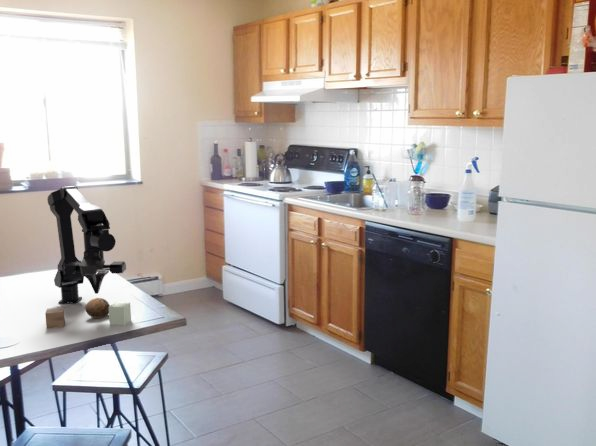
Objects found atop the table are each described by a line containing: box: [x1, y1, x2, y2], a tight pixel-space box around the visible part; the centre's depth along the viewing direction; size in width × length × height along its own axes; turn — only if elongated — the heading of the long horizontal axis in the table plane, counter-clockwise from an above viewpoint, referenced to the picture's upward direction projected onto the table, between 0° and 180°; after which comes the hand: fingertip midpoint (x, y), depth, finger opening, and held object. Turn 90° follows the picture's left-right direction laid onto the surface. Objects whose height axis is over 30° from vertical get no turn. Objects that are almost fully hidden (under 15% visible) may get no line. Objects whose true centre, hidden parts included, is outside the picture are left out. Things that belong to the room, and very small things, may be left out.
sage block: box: [108, 301, 132, 326], centre depth 187 cm, size 5×5×6 cm
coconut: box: [84, 297, 111, 319], centre depth 193 cm, size 8×8×6 cm
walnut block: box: [45, 307, 66, 329], centre depth 185 cm, size 5×5×5 cm
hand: (96, 293), depth 192 cm, fingers closed
